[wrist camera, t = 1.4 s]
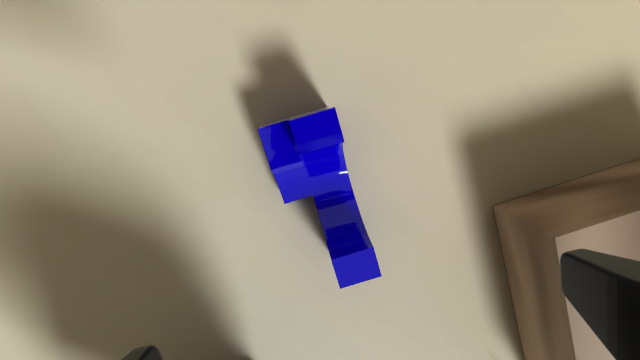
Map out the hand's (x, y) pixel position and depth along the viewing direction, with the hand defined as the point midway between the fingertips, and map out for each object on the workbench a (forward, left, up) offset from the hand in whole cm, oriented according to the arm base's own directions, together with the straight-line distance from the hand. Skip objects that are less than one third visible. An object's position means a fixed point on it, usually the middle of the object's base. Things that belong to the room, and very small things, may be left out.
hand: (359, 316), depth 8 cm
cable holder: (0, 0, -12) cm, 12 cm away
